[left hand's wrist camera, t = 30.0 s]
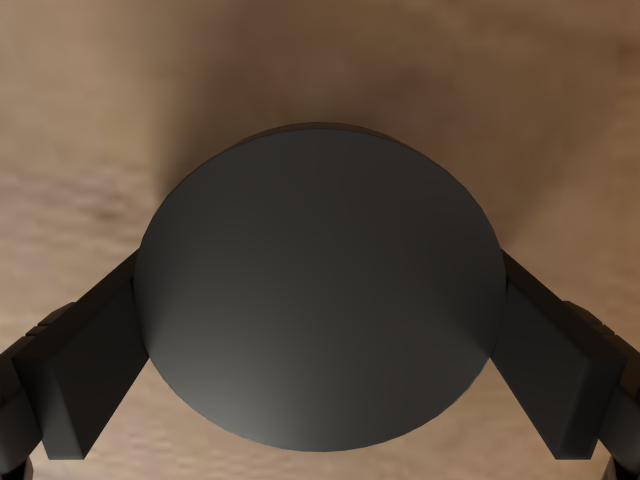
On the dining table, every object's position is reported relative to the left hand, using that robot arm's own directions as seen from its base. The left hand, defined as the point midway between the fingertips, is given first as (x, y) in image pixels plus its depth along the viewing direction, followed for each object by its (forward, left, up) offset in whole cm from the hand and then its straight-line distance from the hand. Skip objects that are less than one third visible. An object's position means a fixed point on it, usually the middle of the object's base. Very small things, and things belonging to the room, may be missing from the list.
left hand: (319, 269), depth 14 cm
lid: (0, 0, +3) cm, 3 cm away
